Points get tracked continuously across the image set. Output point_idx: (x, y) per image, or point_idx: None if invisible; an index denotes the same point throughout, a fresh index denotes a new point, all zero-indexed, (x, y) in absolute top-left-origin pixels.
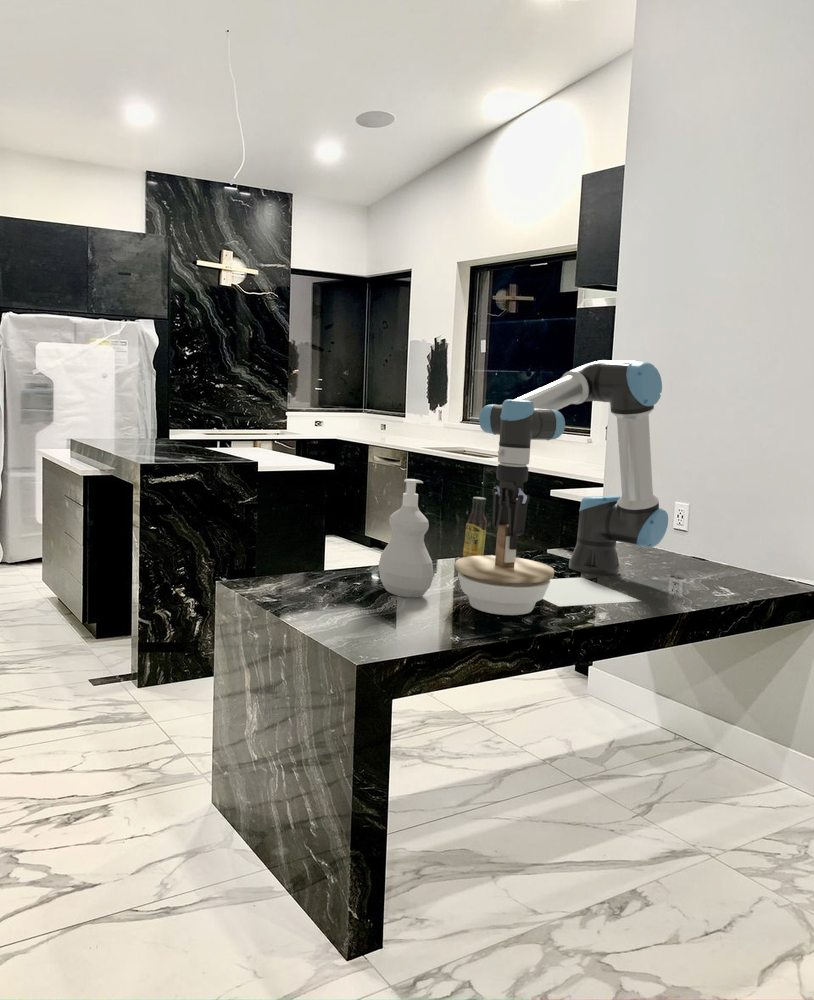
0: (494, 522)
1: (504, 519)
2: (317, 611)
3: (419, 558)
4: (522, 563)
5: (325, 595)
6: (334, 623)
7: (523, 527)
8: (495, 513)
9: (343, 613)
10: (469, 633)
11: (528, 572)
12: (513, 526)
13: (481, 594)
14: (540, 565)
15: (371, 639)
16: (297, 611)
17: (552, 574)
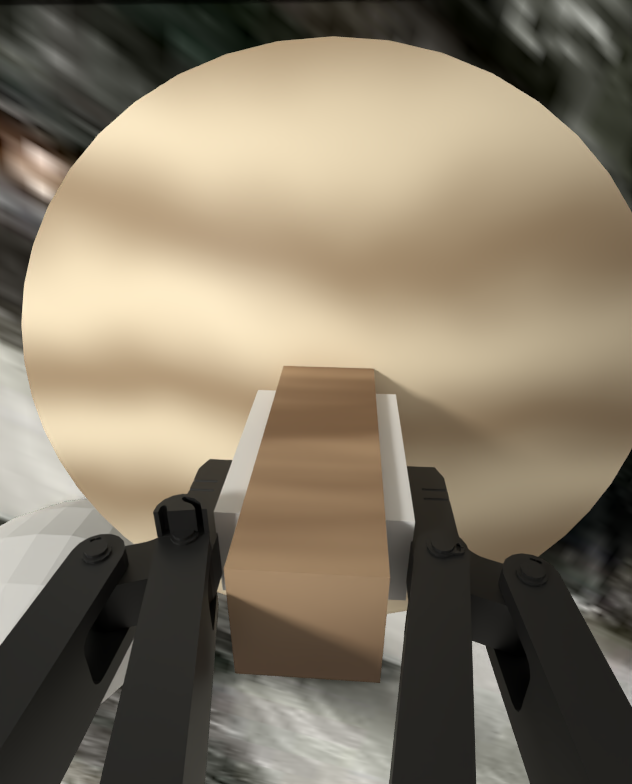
0: (122, 653)
1: (206, 673)
2: (255, 747)
3: (122, 670)
4: (272, 238)
5: (114, 697)
6: (355, 751)
7: (583, 639)
8: (70, 754)
9: (282, 717)
10: (557, 558)
11: (522, 355)
12: (506, 704)
13: None
14: (359, 121)
15: (492, 739)
16: (249, 771)
17: (617, 193)
